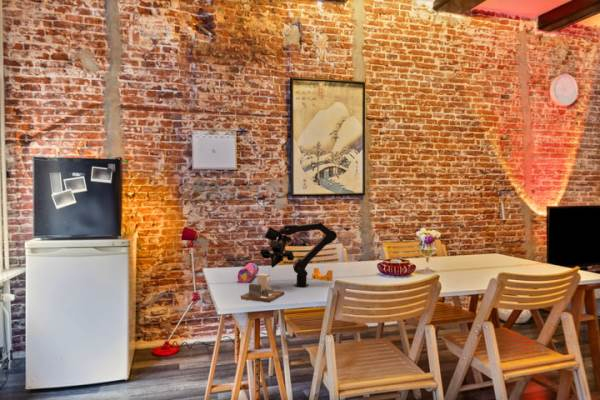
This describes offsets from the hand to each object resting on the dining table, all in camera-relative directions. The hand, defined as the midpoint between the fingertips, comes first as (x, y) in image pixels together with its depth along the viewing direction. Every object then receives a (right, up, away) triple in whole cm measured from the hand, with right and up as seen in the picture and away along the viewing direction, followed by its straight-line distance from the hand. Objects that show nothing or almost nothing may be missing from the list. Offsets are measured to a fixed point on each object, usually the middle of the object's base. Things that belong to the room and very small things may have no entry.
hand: (272, 267), depth 234 cm
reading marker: (-2, -11, -17) cm, 21 cm away
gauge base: (-5, -13, -11) cm, 18 cm away
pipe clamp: (+29, -13, +32) cm, 45 cm away
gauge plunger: (-2, -11, -10) cm, 15 cm away
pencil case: (-16, -12, +28) cm, 35 cm away
